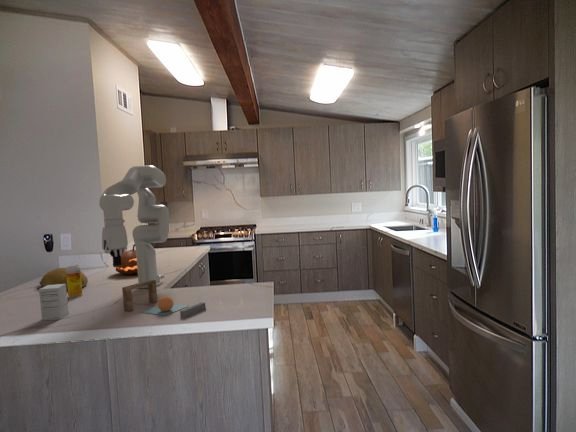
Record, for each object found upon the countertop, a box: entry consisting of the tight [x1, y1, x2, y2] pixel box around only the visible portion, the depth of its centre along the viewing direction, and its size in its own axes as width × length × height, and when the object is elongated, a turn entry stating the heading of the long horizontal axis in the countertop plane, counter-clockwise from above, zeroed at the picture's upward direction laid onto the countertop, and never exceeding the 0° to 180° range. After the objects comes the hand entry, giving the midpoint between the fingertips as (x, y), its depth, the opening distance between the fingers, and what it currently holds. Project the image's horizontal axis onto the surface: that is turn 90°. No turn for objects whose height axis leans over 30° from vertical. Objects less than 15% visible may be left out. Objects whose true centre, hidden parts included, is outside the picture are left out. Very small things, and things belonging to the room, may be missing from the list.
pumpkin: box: [112, 243, 138, 276], centre depth 250 cm, size 25×25×19 cm
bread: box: [40, 267, 89, 291], centre depth 224 cm, size 18×35×10 cm, turn 52°
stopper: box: [179, 302, 207, 319], centre depth 158 cm, size 12×2×2 cm, turn 151°
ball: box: [157, 295, 174, 312], centre depth 163 cm, size 6×6×6 cm
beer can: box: [65, 264, 83, 299], centre depth 197 cm, size 6×6×15 cm
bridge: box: [121, 280, 158, 313], centre depth 172 cm, size 3×15×10 cm, turn 151°
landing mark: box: [141, 303, 190, 317], centre depth 166 cm, size 13×13×1 cm
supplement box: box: [38, 284, 69, 321], centre depth 163 cm, size 7×7×13 cm
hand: (117, 265), depth 178 cm, fingers closed
